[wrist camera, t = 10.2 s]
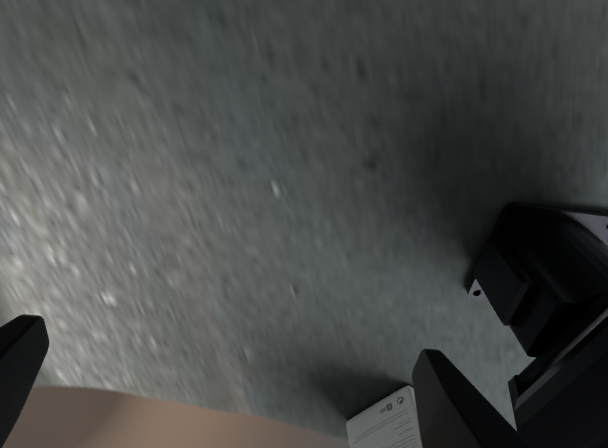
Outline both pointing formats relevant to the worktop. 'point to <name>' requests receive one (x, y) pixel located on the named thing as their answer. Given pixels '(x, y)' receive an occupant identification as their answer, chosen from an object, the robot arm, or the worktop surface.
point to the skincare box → (387, 423)
